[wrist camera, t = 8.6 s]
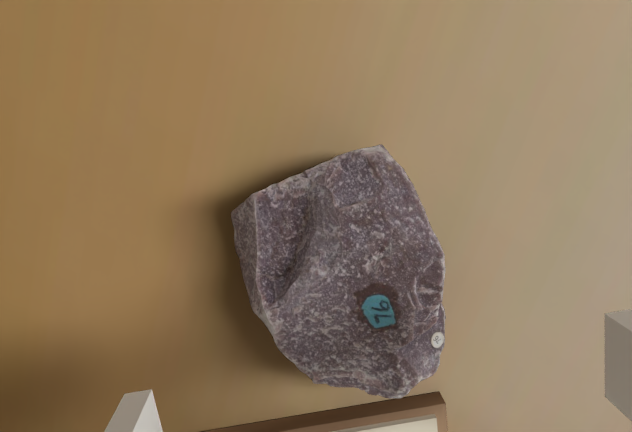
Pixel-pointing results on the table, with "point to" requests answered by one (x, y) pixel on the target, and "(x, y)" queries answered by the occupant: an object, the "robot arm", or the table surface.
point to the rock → (346, 273)
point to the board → (363, 418)
